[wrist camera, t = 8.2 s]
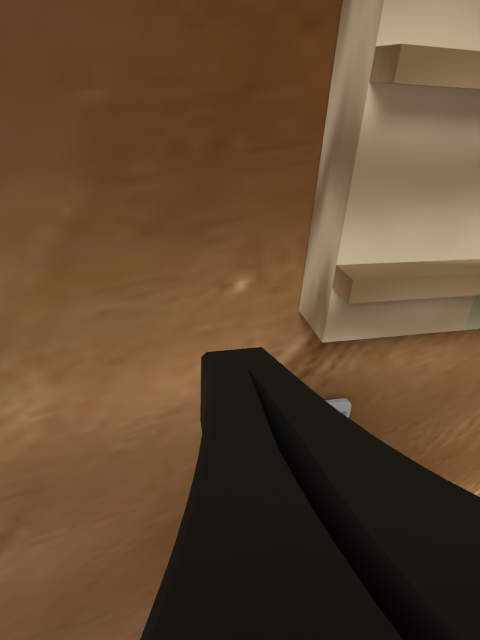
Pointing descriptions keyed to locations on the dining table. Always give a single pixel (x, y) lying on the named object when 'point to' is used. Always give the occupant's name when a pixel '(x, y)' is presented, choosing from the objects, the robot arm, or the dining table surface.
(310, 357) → the dining table surface
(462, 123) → the railed deck
